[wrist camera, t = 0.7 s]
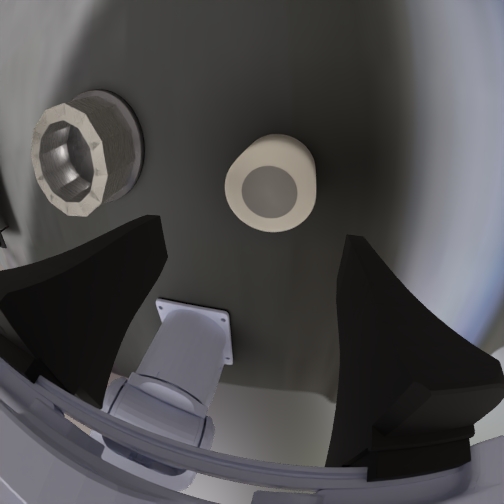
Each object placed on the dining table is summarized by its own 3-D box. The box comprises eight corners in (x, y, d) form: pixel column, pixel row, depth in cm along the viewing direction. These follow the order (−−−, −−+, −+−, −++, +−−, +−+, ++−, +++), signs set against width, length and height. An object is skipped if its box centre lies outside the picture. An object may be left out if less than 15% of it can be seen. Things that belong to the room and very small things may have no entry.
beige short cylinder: (312, 207, 19) (311, 238, 16) (242, 200, 20) (225, 229, 16) (318, 137, 16) (320, 152, 13) (241, 132, 17) (222, 146, 14)
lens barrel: (152, 201, 21) (124, 226, 18) (72, 199, 23) (45, 219, 20) (138, 78, 15) (102, 83, 12) (54, 103, 17) (21, 114, 14)
